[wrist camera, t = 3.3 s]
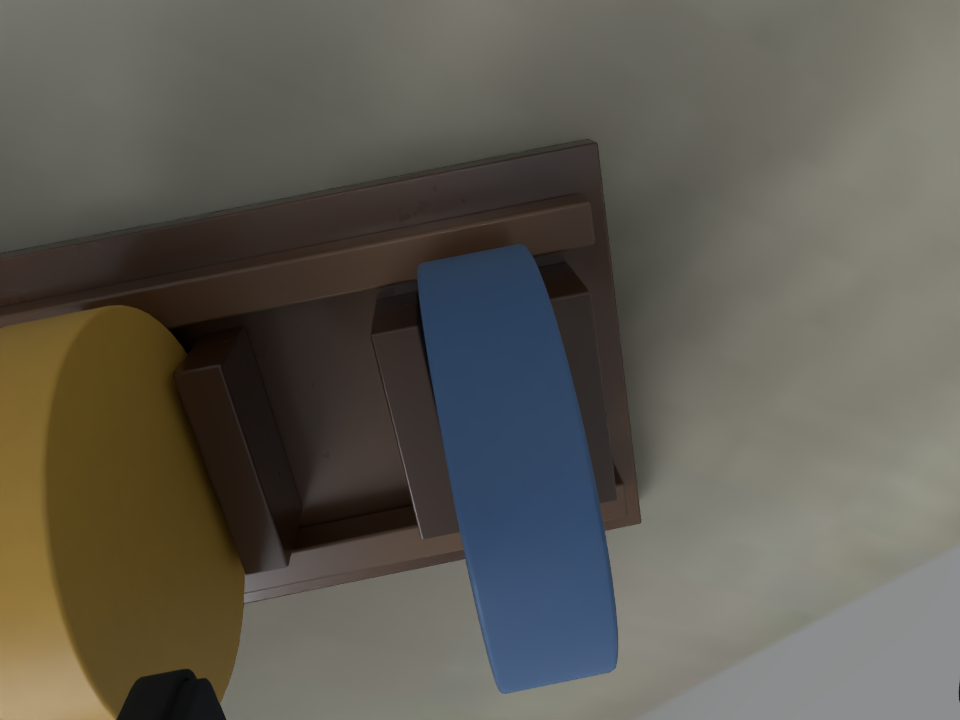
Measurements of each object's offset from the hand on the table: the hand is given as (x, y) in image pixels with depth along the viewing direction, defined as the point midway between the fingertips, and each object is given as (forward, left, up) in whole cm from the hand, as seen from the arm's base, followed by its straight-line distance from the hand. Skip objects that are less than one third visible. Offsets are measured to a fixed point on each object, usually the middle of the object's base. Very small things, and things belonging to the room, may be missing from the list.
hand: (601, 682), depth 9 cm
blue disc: (0, 0, -10) cm, 10 cm away
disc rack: (-8, -1, -11) cm, 13 cm away
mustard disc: (-8, -1, -10) cm, 12 cm away
